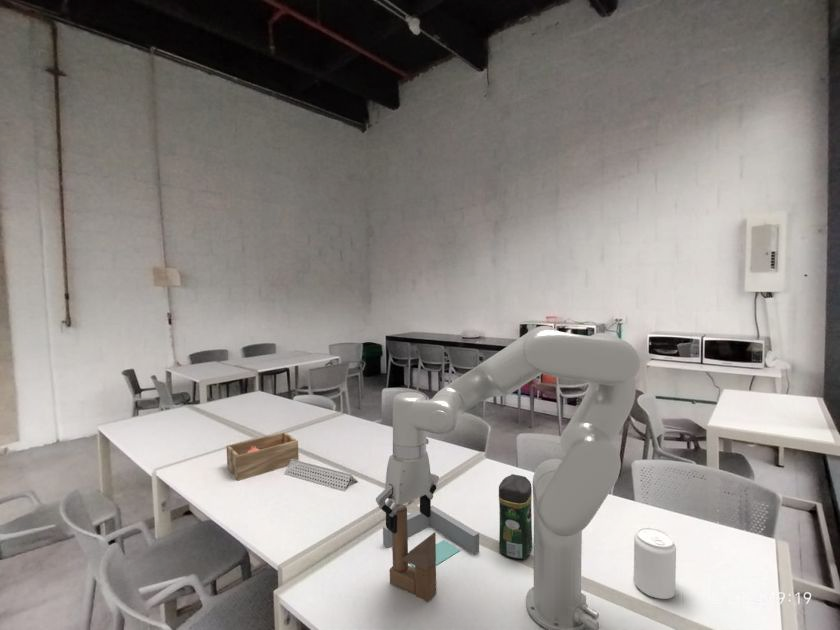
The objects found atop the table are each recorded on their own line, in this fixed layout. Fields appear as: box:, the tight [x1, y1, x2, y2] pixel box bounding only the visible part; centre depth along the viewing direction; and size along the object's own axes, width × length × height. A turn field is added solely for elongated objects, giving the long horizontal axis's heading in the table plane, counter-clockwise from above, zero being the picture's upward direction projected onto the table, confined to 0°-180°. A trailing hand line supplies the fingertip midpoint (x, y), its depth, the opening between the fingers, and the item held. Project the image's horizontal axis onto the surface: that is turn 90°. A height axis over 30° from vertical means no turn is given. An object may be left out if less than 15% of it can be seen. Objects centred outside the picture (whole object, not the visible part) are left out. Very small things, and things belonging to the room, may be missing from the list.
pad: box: [408, 539, 461, 568], centre depth 102 cm, size 6×13×1 cm, turn 130°
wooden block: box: [389, 504, 437, 603], centre depth 91 cm, size 4×11×18 cm, turn 57°
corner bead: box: [283, 459, 359, 492], centre depth 147 cm, size 29×9×5 cm, turn 61°
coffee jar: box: [498, 473, 533, 560], centre depth 104 cm, size 10×8×19 cm
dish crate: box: [226, 431, 300, 482], centre depth 158 cm, size 14×23×9 cm, turn 130°
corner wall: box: [382, 505, 480, 556], centre depth 105 cm, size 19×17×5 cm
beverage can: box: [633, 527, 677, 600], centre depth 90 cm, size 8×8×12 cm
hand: (408, 522), depth 91 cm, fingers open, 9 cm apart
